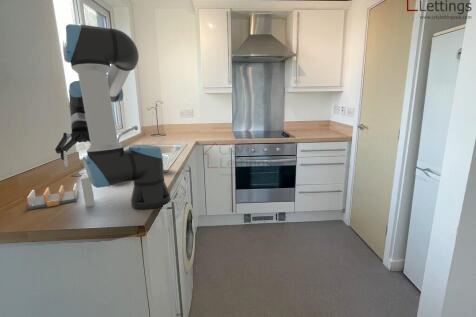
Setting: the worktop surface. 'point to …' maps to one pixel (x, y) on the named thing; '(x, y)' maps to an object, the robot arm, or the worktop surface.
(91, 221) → the worktop surface
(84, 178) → the panel
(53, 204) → the rack
